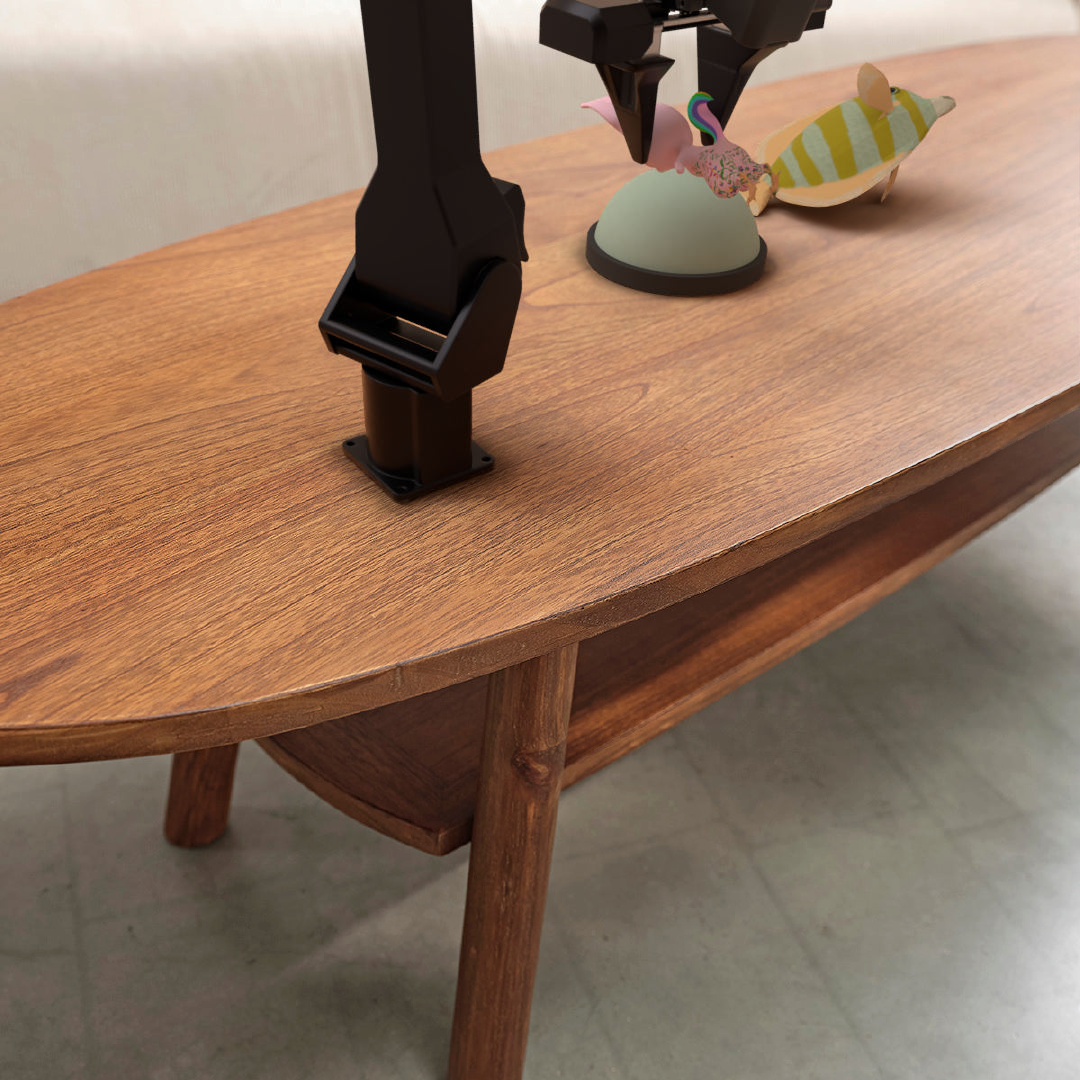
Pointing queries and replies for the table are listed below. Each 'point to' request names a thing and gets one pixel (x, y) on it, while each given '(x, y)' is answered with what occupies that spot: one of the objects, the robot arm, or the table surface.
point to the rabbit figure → (696, 148)
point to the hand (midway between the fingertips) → (674, 154)
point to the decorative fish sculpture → (846, 144)
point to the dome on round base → (676, 237)
